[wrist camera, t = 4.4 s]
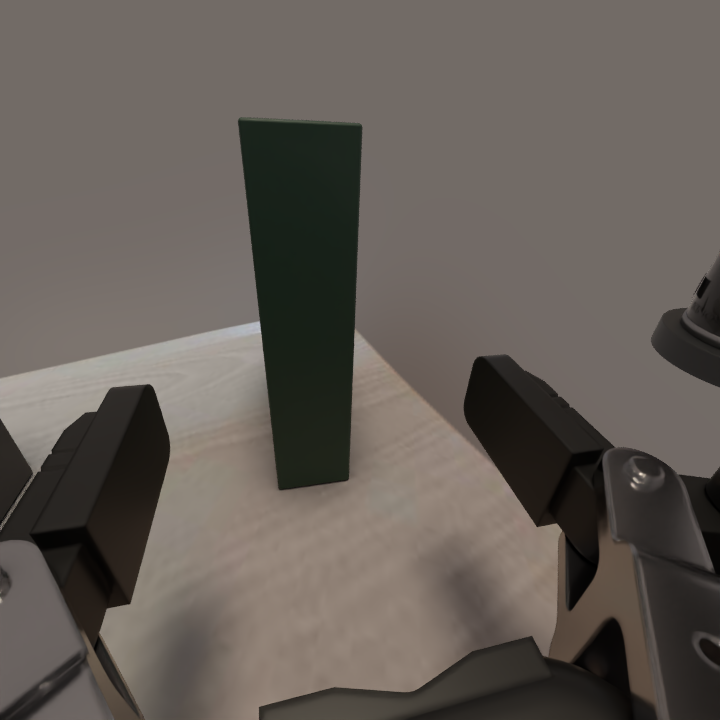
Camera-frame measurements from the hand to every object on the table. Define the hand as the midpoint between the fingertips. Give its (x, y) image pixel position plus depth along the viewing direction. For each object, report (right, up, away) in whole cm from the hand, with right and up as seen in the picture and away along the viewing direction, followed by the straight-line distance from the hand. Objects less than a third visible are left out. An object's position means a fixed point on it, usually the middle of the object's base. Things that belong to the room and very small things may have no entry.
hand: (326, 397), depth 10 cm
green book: (-2, -2, +11) cm, 12 cm away
